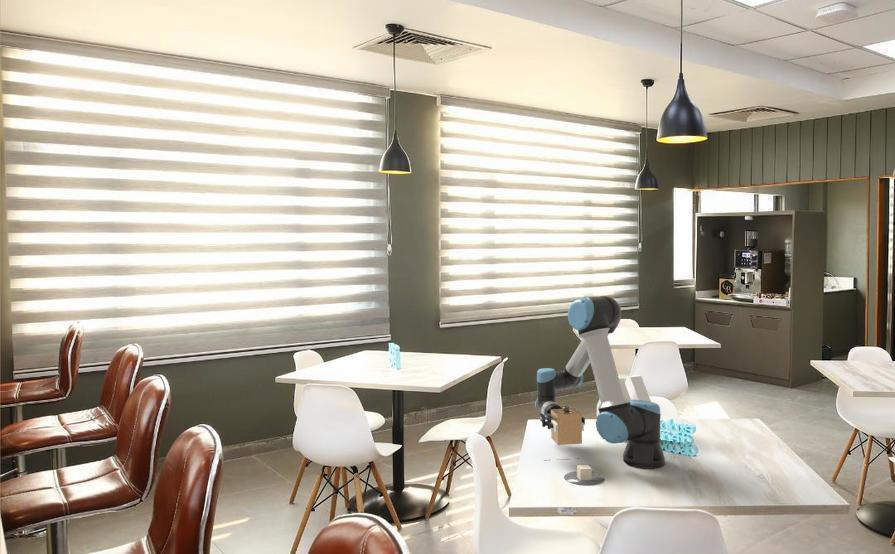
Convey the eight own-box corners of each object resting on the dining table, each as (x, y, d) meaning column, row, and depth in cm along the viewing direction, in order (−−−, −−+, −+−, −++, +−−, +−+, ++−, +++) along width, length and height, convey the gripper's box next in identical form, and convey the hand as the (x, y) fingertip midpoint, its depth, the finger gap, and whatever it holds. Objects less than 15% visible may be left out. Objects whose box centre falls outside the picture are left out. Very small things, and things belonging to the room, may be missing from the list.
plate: (606, 476, 240) (606, 473, 240) (602, 490, 227) (602, 487, 227) (567, 472, 245) (567, 469, 245) (561, 486, 232) (561, 483, 231)
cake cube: (587, 475, 238) (587, 464, 238) (591, 479, 234) (591, 468, 234) (576, 476, 238) (576, 465, 237) (580, 480, 234) (580, 469, 233)
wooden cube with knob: (574, 436, 255) (574, 403, 255) (582, 443, 246) (581, 409, 246) (551, 438, 254) (550, 405, 254) (558, 445, 245) (557, 410, 245)
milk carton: (596, 431, 295) (596, 374, 294) (625, 426, 302) (625, 371, 300) (624, 443, 278) (625, 383, 276) (654, 438, 284) (654, 379, 282)
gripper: (579, 420, 269) (598, 436, 247) (526, 423, 267) (540, 439, 244) (579, 402, 269) (598, 416, 247) (526, 404, 266) (540, 419, 244)
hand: (569, 427), depth 246 cm, fingers closed on wooden cube with knob, 9 cm apart
